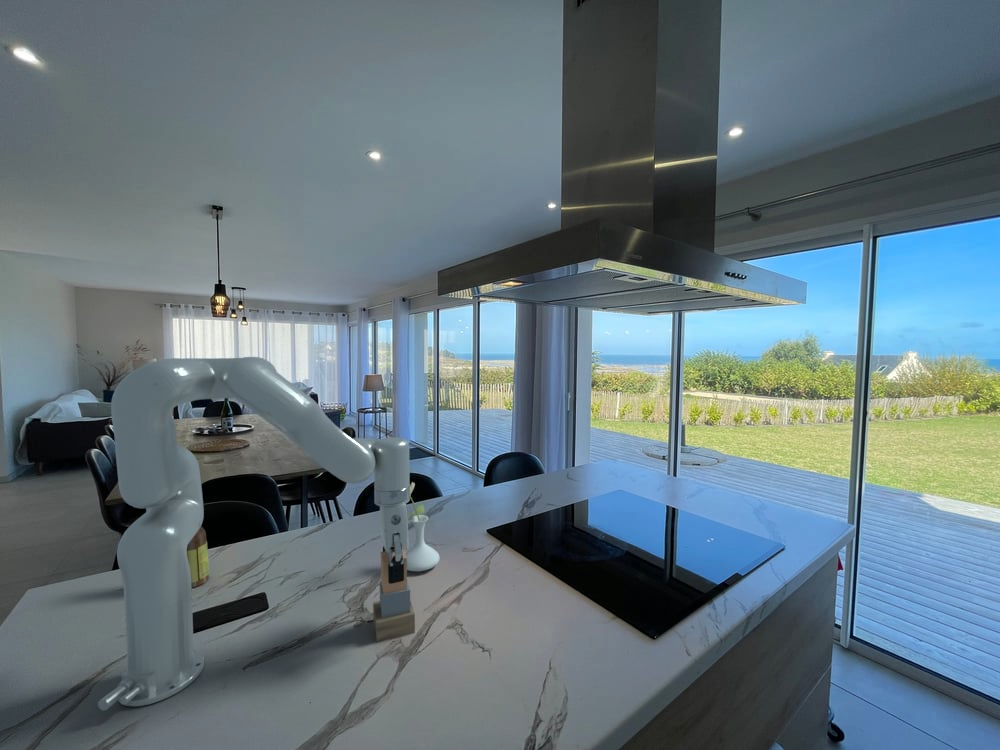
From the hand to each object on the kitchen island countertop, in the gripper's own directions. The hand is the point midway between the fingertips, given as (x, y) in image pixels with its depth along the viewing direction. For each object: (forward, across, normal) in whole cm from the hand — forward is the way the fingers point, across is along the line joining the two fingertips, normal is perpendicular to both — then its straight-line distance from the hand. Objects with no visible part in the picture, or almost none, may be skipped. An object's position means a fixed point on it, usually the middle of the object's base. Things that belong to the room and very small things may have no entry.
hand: (393, 571), depth 92 cm
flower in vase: (+13, +24, -10) cm, 29 cm away
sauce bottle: (+13, +38, +46) cm, 61 cm away
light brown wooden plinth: (+13, 0, 0) cm, 13 cm away
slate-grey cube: (+8, 0, 0) cm, 8 cm away
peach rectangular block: (+3, 0, 0) cm, 3 cm away
